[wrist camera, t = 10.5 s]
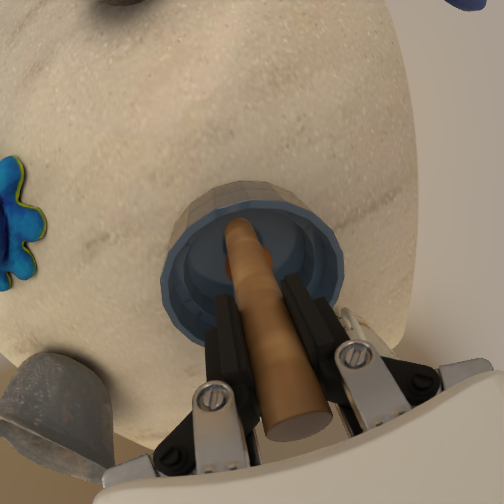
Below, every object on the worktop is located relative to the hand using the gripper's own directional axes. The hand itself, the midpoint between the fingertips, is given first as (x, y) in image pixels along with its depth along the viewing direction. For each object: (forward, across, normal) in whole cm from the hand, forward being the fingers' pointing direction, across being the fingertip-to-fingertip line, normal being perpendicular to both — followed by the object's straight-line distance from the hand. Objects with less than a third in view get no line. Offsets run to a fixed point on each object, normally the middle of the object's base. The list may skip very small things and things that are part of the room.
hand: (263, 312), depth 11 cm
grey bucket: (+14, +28, +15) cm, 35 cm away
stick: (+9, 0, 0) cm, 9 cm away
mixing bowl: (+14, 0, +5) cm, 15 cm away
